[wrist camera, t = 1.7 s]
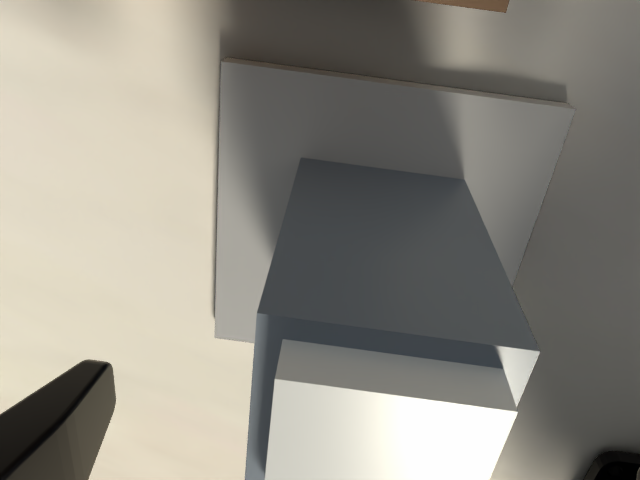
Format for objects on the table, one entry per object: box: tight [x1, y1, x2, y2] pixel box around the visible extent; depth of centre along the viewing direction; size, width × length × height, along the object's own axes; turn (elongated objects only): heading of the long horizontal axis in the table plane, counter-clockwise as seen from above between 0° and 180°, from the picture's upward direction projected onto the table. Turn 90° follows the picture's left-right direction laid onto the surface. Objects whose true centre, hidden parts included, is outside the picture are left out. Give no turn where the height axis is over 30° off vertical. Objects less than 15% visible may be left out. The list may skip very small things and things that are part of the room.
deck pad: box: [215, 57, 576, 343], centre depth 14 cm, size 8×8×1 cm
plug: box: [245, 158, 540, 480], centre depth 11 cm, size 4×4×7 cm
